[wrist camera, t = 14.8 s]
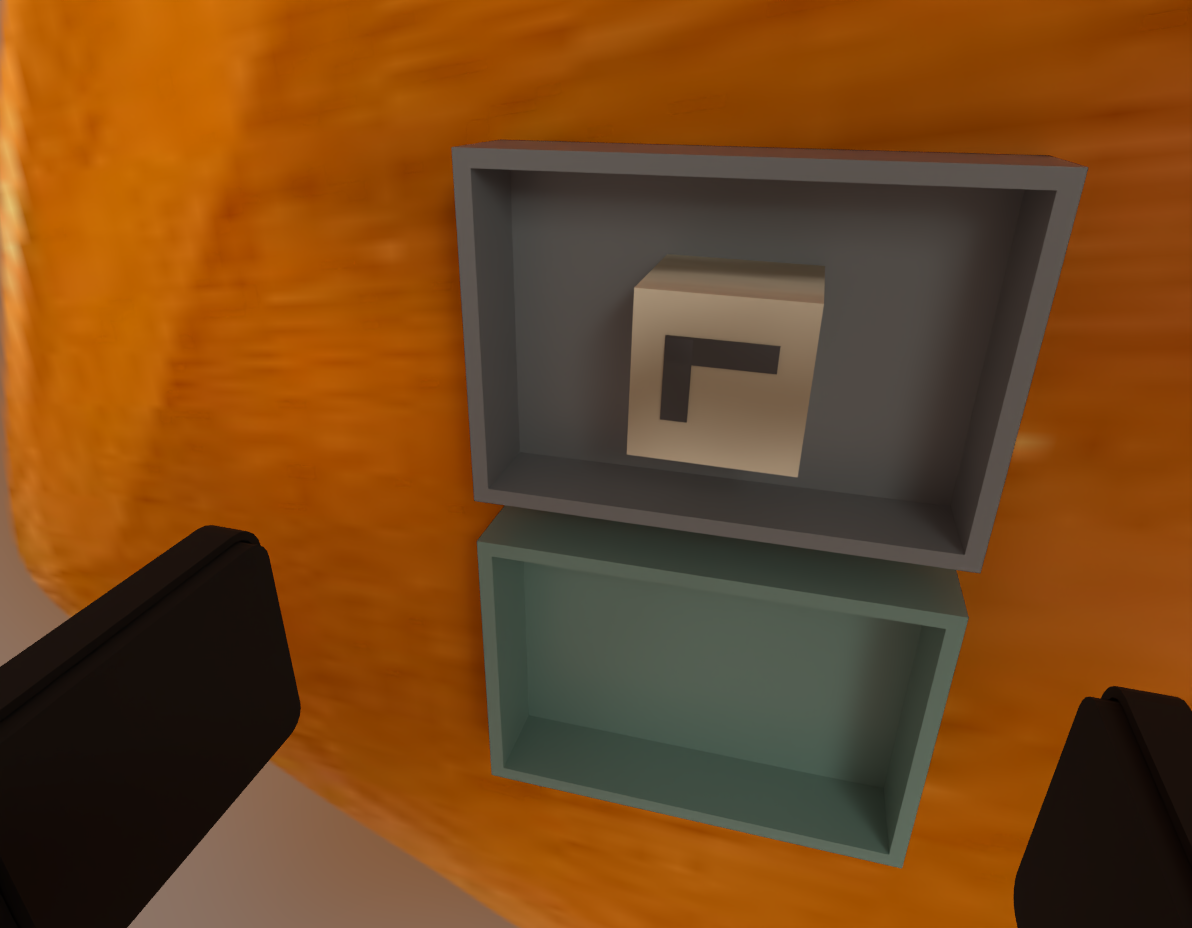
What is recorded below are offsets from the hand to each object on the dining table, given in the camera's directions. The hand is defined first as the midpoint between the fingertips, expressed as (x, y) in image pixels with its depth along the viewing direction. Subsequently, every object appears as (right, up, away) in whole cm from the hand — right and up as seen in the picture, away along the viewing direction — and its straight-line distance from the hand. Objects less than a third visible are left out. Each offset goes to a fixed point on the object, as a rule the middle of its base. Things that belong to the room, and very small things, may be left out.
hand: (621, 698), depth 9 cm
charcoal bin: (+4, +7, +15) cm, 17 cm away
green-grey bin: (+4, -4, +20) cm, 21 cm away
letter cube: (+4, +7, +14) cm, 16 cm away
